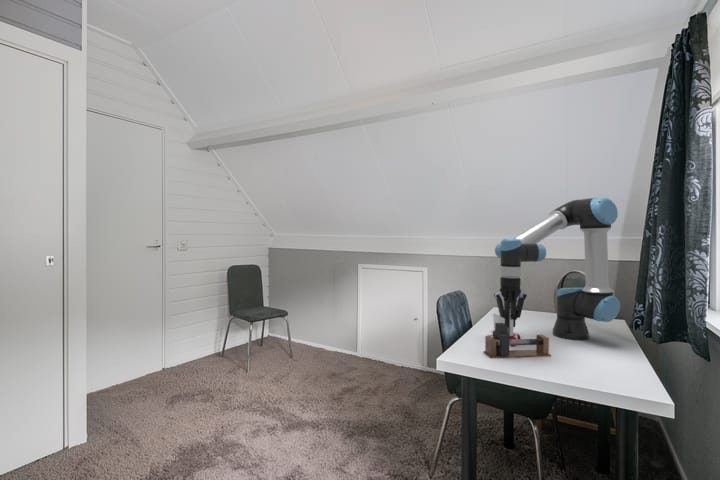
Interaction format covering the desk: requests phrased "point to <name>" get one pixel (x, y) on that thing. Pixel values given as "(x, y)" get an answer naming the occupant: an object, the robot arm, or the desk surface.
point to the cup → (498, 318)
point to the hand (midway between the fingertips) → (509, 335)
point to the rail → (540, 351)
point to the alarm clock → (513, 338)
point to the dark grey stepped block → (502, 338)
